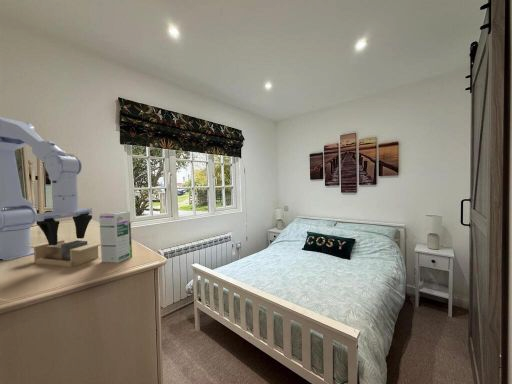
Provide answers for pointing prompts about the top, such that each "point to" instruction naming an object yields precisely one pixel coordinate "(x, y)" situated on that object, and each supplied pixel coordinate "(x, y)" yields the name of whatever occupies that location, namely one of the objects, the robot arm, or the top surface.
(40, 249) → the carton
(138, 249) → the top surface
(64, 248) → the box
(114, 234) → the syrup box
